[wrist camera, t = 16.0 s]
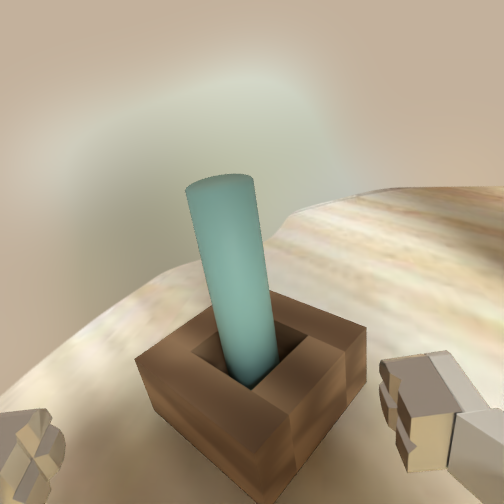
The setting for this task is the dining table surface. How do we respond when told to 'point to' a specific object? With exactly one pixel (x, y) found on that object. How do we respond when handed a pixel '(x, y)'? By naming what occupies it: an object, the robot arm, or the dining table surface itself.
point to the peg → (235, 273)
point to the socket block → (258, 393)
